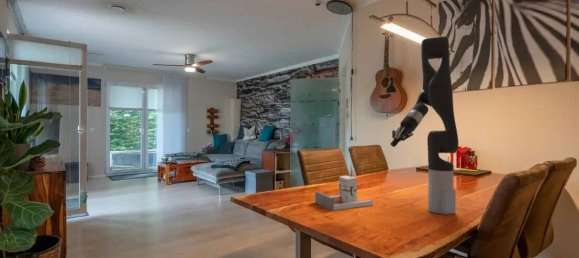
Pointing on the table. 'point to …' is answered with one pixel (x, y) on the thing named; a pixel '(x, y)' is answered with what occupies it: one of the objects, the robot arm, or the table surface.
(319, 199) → the bay
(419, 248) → the table surface
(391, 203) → the table surface
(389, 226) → the table surface
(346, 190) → the ink box
